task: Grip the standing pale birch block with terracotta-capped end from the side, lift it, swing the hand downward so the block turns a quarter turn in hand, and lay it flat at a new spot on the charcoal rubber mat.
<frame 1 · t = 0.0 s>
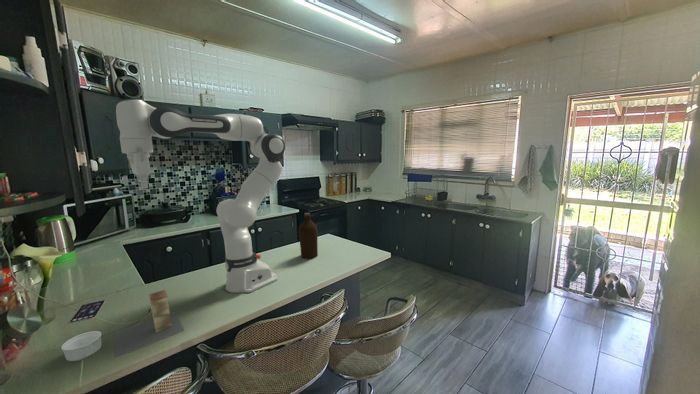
hand: (143, 187, 99), 48 cm above the counter, tool pointing down, fingers open, 8 cm apart
rubber mat: (149, 332, 94), on the counter
ramekin: (84, 353, 86), on the counter
olive oil: (309, 256, 160), on the counter
birch block: (162, 326, 97), resting on rubber mat
smartphone: (88, 312, 109), on the counter
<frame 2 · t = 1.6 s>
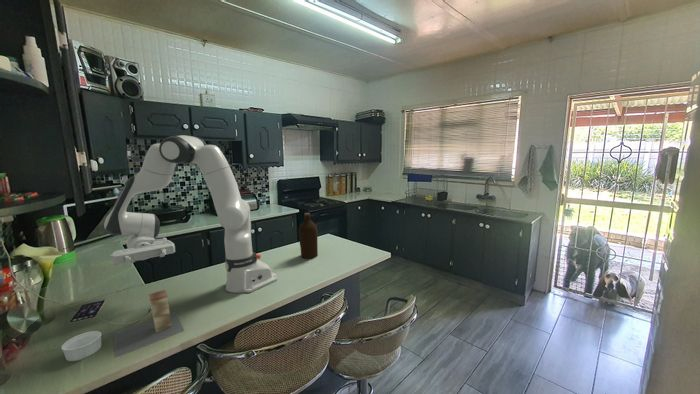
hand: (147, 257, 106), 21 cm above the counter, tool horizontal, fingers open, 8 cm apart
nothing on the counter moved.
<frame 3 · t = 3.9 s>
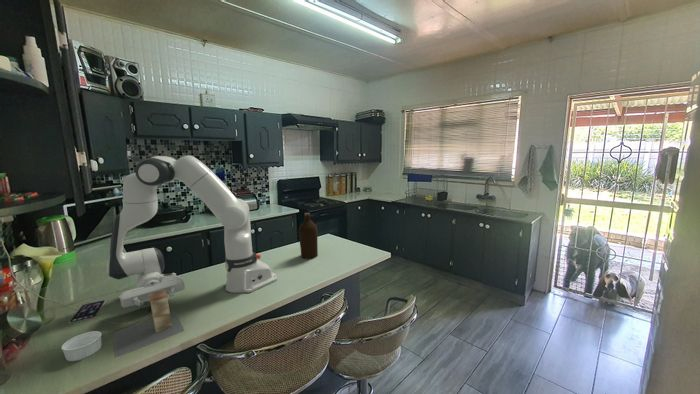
hand: (156, 299, 102), 7 cm above the counter, tool horizontal, fingers open, 8 cm apart
nothing on the counter moved.
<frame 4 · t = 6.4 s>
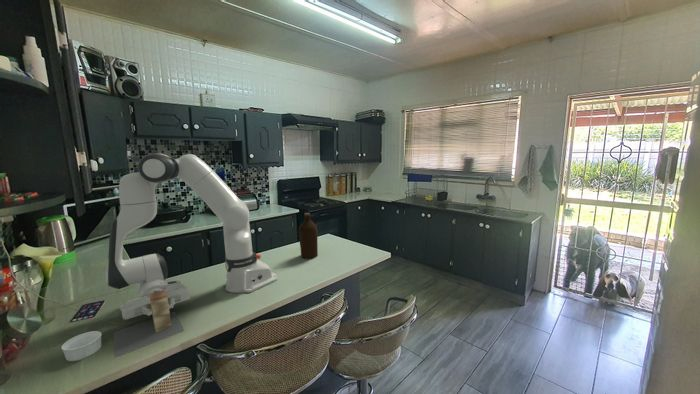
hand: (160, 309, 95), 7 cm above the counter, tool horizontal, fingers closed on birch block, 4 cm apart
birch block: (162, 326, 97), resting on rubber mat, touching gripper
everything else where it was.
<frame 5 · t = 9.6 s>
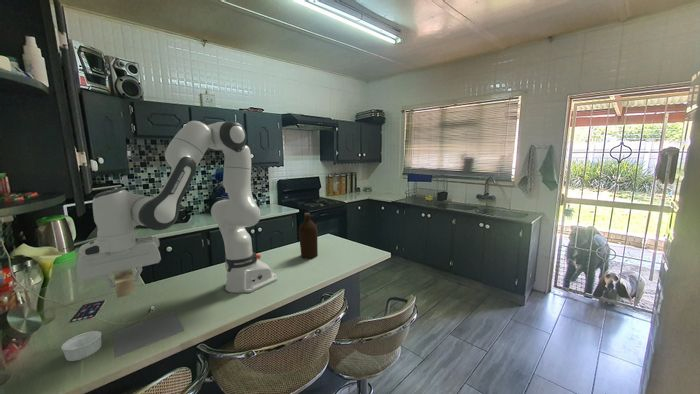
hand: (125, 283, 89), 19 cm above the counter, tool pointing down, fingers closed on birch block, 4 cm apart
birch block: (125, 288, 83), point 20 cm above the counter, tilted 90°, touching gripper
everything else where it was.
when the fingers open (3 cm above the counter, at t = 13.5 s): birch block drops 1 cm, resting on rubber mat.
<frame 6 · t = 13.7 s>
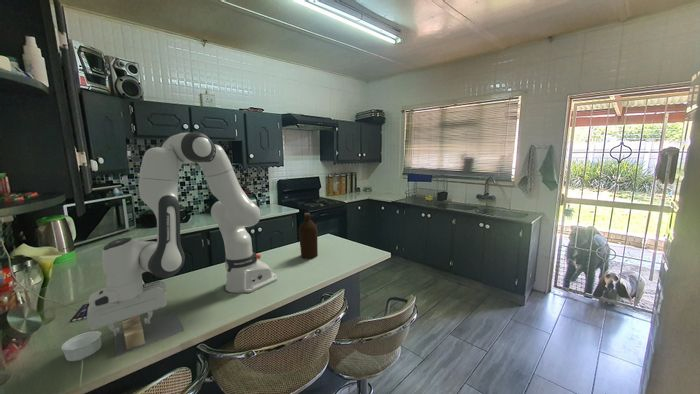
hand: (132, 328, 91), 3 cm above the counter, tool pointing down, fingers open, 6 cm apart
birch block: (135, 340, 86), point 3 cm above the counter, tilted 90°, touching rubber mat
everything else where it was.
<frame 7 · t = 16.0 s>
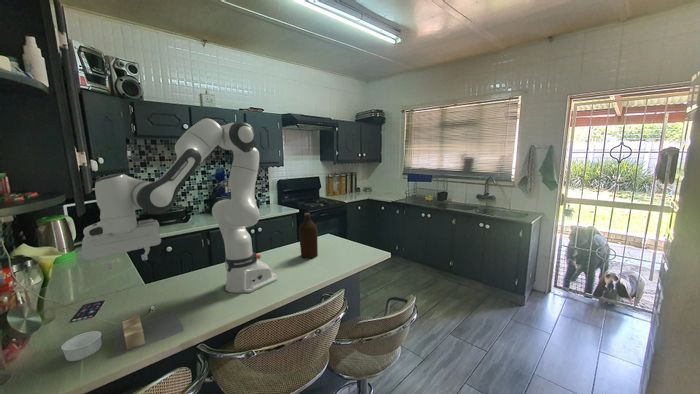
hand: (127, 264, 93), 23 cm above the counter, tool pointing down, fingers open, 8 cm apart
nothing on the counter moved.
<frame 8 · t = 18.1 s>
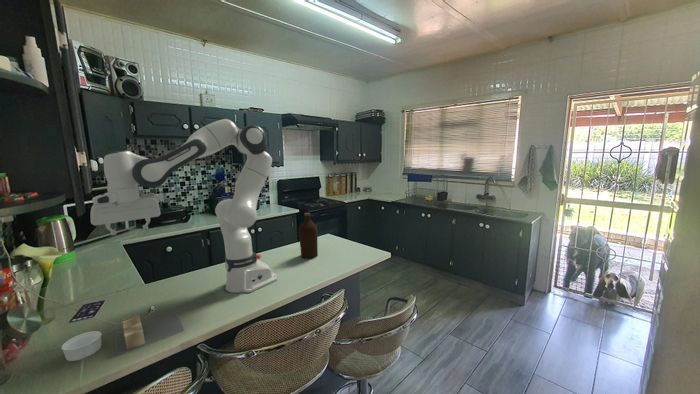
hand: (130, 232, 104), 31 cm above the counter, tool pointing down, fingers open, 8 cm apart
nothing on the counter moved.
at the end: birch block tilted 90°; birch block inside the target area (8.1 cm from its centre), point 2.6 cm above the counter; the gripper is holding nothing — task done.
